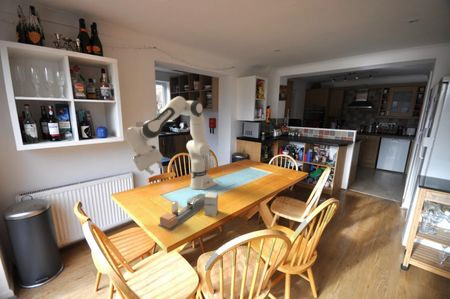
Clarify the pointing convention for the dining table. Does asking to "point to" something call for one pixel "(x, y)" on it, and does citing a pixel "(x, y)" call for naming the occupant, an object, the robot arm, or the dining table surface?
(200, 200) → the steel sleeve
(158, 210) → the dining table surface
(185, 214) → the charcoal board
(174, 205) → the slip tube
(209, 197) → the supplement box
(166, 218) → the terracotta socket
